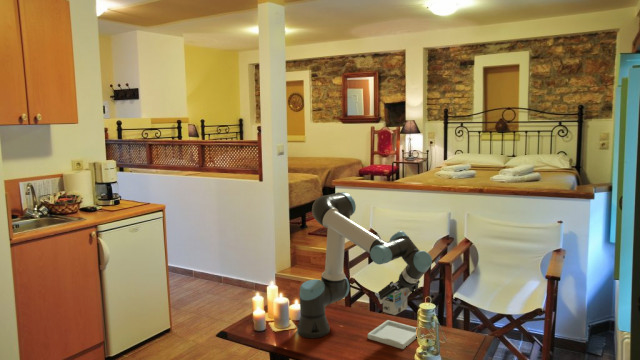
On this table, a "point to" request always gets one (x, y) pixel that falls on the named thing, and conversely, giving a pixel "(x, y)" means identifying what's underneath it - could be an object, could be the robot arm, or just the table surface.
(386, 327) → the tray
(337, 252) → the robot arm
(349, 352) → the table surface
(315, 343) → the table surface
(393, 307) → the light bulb box
